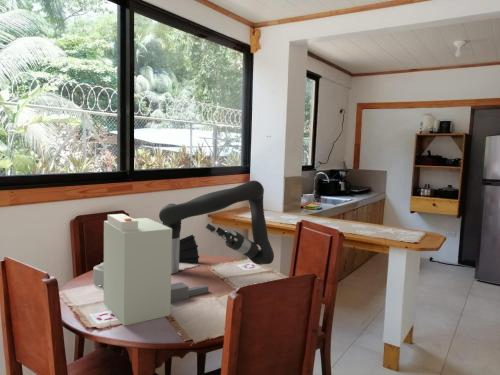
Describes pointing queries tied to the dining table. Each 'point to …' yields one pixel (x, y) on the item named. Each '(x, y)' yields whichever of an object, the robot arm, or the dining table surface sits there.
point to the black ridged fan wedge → (188, 250)
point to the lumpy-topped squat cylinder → (98, 274)
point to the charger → (185, 291)
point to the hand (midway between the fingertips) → (211, 227)
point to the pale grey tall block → (137, 268)
